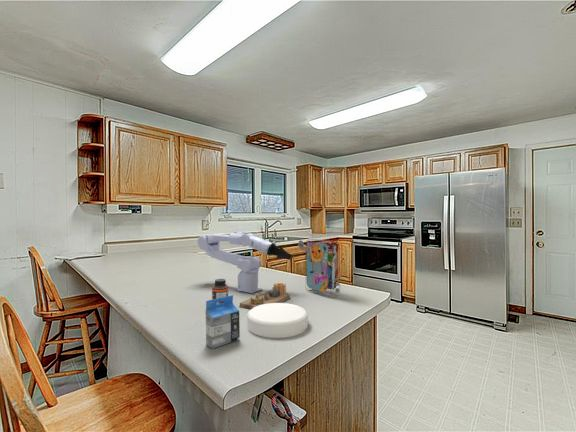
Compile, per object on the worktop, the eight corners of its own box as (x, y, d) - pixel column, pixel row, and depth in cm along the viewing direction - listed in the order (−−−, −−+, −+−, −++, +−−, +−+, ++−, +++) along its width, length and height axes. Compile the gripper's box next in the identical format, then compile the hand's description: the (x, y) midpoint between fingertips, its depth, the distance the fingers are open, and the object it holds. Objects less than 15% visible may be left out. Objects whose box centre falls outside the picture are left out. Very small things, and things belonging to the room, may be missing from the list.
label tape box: (212, 349, 76) (212, 304, 76) (205, 344, 79) (205, 300, 79) (240, 340, 82) (240, 297, 82) (232, 335, 85) (232, 294, 85)
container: (234, 325, 94) (234, 311, 94) (279, 310, 108) (279, 298, 108) (275, 345, 80) (275, 328, 80) (320, 325, 94) (320, 311, 94)
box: (293, 287, 142) (293, 238, 142) (302, 285, 146) (302, 237, 146) (330, 299, 123) (331, 242, 122) (340, 296, 127) (340, 241, 126)
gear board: (239, 306, 112) (239, 294, 112) (269, 294, 129) (269, 283, 129) (262, 311, 106) (262, 298, 106) (289, 298, 123) (289, 286, 123)
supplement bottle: (211, 307, 111) (211, 278, 111) (226, 305, 113) (226, 277, 113) (212, 312, 105) (213, 282, 105) (229, 310, 107) (229, 280, 107)
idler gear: (271, 293, 131) (271, 284, 131) (278, 290, 135) (278, 282, 135) (281, 295, 128) (281, 286, 128) (287, 292, 133) (287, 283, 133)
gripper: (259, 234, 126) (285, 244, 120) (273, 241, 139) (296, 250, 133) (253, 249, 125) (278, 260, 119) (267, 254, 138) (291, 264, 132)
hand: (287, 256), depth 126 cm, fingers open, 7 cm apart
